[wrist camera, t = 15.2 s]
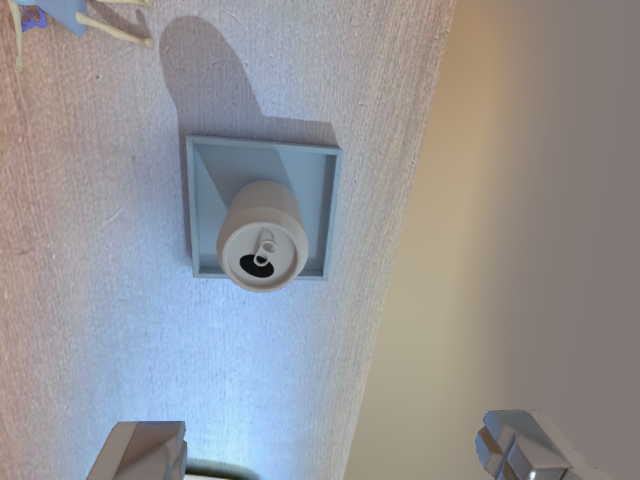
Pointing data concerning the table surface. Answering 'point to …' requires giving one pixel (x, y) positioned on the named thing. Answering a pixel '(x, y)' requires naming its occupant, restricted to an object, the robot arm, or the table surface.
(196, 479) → the plate
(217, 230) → the tray
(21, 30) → the fairy figurine
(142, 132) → the table surface
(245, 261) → the can
